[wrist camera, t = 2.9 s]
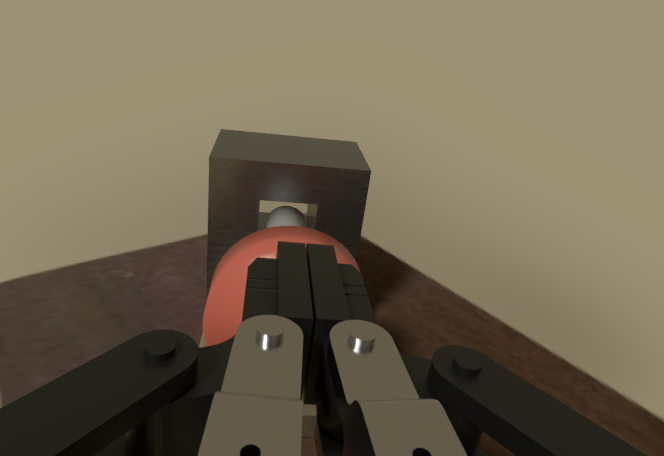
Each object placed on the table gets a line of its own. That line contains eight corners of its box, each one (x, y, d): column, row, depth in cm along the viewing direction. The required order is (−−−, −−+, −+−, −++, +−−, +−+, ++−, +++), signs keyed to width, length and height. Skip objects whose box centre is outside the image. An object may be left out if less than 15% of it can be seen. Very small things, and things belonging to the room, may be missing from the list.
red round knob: (224, 271, 30) (228, 163, 28) (336, 277, 31) (351, 174, 28) (201, 389, 21) (203, 247, 18) (359, 392, 22) (384, 258, 19)
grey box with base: (216, 285, 37) (220, 129, 32) (334, 291, 38) (356, 142, 33) (184, 435, 24) (183, 217, 19) (361, 437, 26) (402, 232, 21)
